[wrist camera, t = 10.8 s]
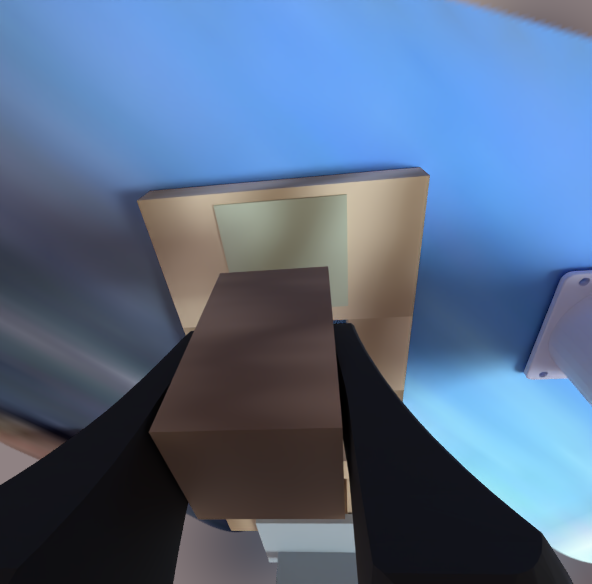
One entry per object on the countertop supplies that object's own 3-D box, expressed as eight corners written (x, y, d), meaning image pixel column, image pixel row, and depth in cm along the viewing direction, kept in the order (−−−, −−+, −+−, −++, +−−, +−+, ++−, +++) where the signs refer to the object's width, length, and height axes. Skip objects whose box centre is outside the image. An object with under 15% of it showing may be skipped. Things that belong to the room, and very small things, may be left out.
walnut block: (328, 266, 12) (342, 428, 7) (332, 347, 14) (344, 519, 9) (220, 273, 12) (148, 432, 7) (240, 351, 14) (198, 519, 9)
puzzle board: (419, 167, 15) (460, 202, 11) (389, 465, 29) (401, 531, 25) (150, 190, 16) (94, 230, 12) (242, 467, 30) (231, 530, 26)
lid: (369, 513, 23) (375, 559, 21) (367, 554, 27) (372, 596, 25) (256, 514, 24) (251, 557, 22) (270, 553, 28) (266, 594, 26)
